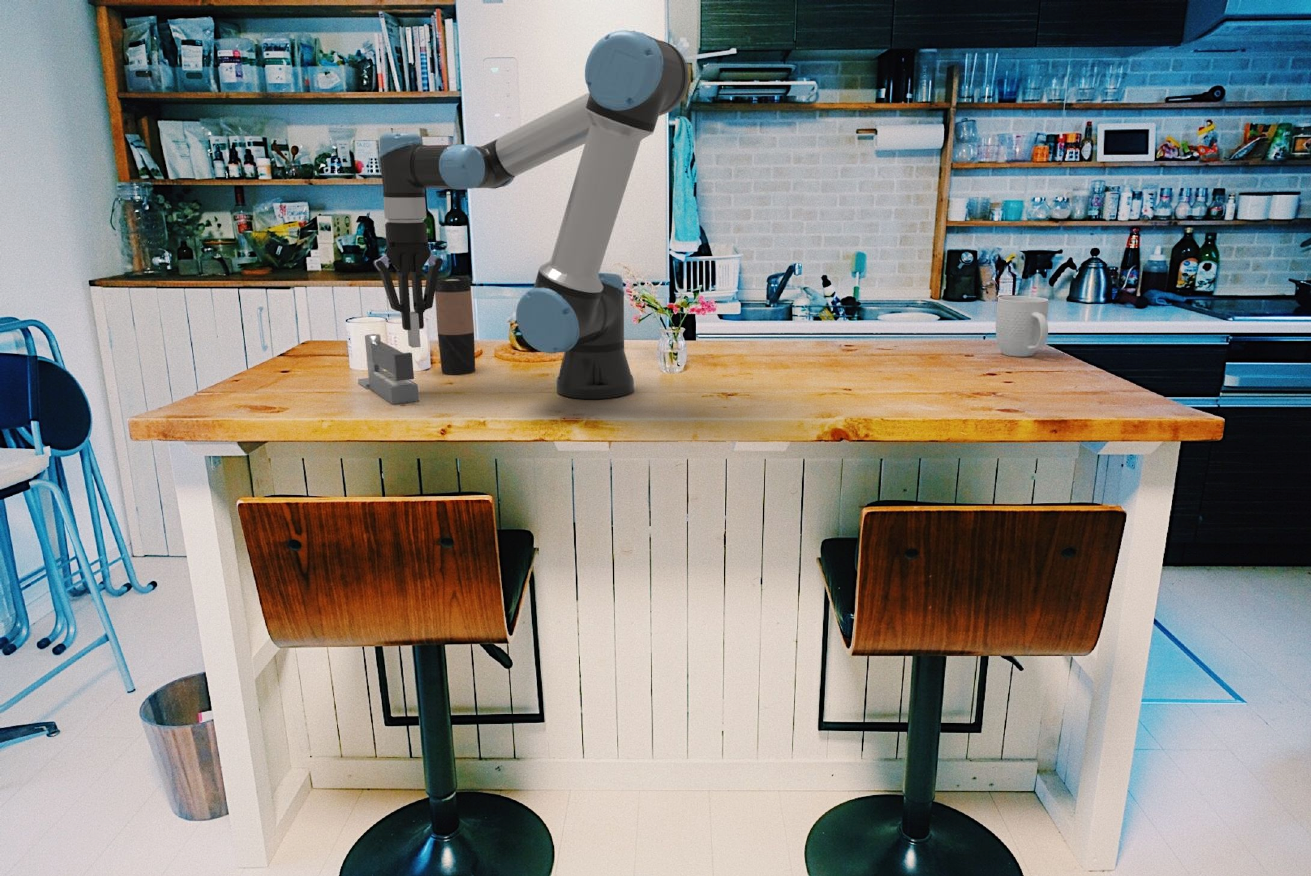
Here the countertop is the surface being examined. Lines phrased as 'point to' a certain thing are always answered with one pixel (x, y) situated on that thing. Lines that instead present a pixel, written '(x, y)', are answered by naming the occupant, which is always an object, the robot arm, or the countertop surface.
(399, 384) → the label block
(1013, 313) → the mug
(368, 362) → the post
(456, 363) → the travel mug
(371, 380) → the label block
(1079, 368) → the countertop surface
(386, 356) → the bar
